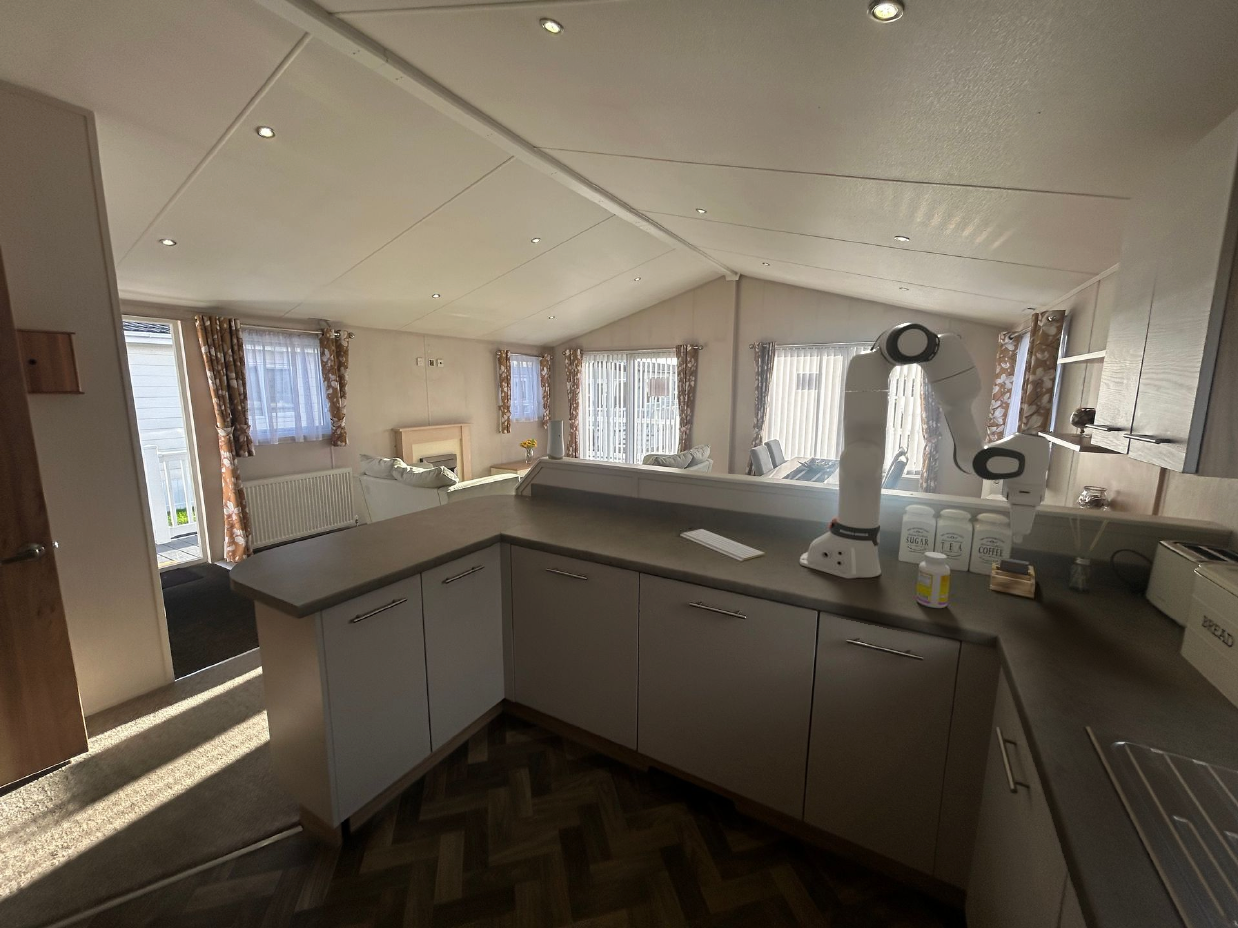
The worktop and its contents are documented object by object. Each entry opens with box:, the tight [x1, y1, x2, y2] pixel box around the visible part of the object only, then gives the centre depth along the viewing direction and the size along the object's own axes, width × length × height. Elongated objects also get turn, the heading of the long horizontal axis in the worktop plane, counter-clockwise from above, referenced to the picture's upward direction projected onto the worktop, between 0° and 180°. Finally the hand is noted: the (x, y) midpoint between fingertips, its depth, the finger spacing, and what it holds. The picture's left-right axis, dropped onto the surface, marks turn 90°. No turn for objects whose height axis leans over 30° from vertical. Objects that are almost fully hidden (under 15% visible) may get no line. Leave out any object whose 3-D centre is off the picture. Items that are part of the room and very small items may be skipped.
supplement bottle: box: [915, 551, 951, 609], centre depth 122 cm, size 7×7×13 cm
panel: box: [999, 556, 1030, 576], centre depth 134 cm, size 6×2×6 cm, turn 52°
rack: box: [989, 562, 1036, 599], centre depth 135 cm, size 9×18×4 cm, turn 142°
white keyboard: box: [678, 526, 766, 562], centre depth 168 cm, size 31×3×12 cm
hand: (1017, 541), depth 133 cm, fingers closed
